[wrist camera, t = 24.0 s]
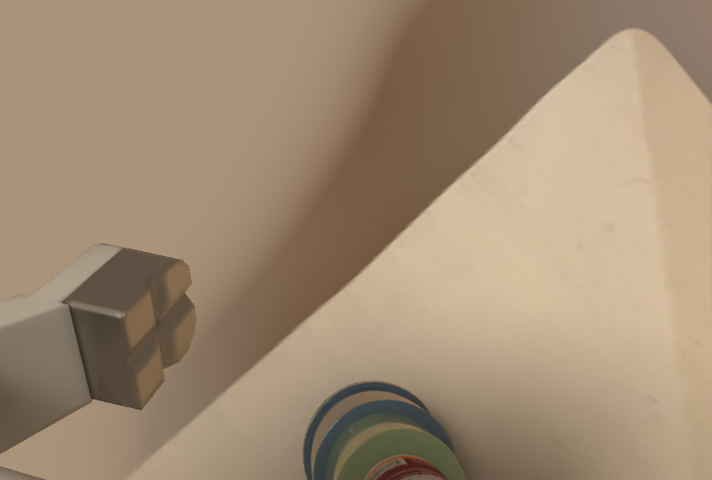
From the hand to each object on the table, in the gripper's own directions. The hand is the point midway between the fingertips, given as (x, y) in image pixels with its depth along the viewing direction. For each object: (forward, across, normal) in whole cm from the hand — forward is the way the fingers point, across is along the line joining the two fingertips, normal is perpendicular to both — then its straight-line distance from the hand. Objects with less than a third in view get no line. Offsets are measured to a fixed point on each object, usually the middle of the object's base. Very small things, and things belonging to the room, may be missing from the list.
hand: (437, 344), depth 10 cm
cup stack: (+22, +6, +28) cm, 36 cm away
